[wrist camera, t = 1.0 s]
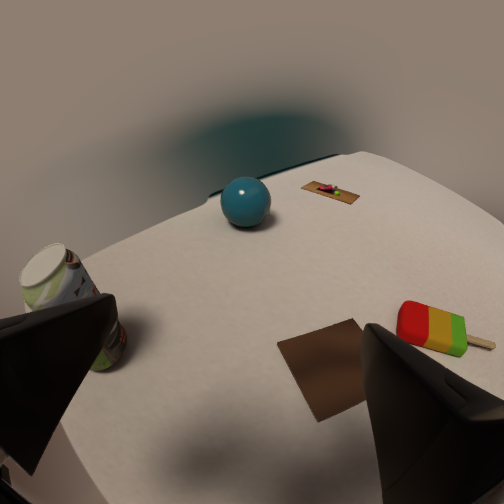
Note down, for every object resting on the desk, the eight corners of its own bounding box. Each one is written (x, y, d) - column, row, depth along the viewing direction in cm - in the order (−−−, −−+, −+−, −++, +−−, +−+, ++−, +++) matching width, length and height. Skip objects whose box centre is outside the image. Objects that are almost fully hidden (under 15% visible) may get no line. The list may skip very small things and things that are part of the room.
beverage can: (141, 358, 23) (99, 255, 16) (79, 390, 19) (11, 297, 12) (117, 319, 27) (82, 223, 20) (63, 346, 23) (12, 255, 16)
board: (350, 204, 54) (352, 197, 53) (301, 188, 60) (301, 182, 59) (359, 196, 58) (360, 190, 57) (313, 181, 64) (314, 175, 63)
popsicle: (397, 307, 29) (403, 296, 28) (489, 335, 24) (496, 325, 23) (393, 340, 25) (400, 329, 24) (493, 367, 20) (502, 357, 19)
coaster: (397, 382, 21) (399, 379, 21) (317, 422, 19) (318, 421, 18) (351, 320, 28) (352, 317, 28) (276, 344, 26) (277, 342, 25)
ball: (246, 209, 50) (246, 167, 45) (279, 224, 45) (283, 179, 41) (211, 223, 45) (208, 177, 41) (244, 242, 40) (245, 191, 36)
